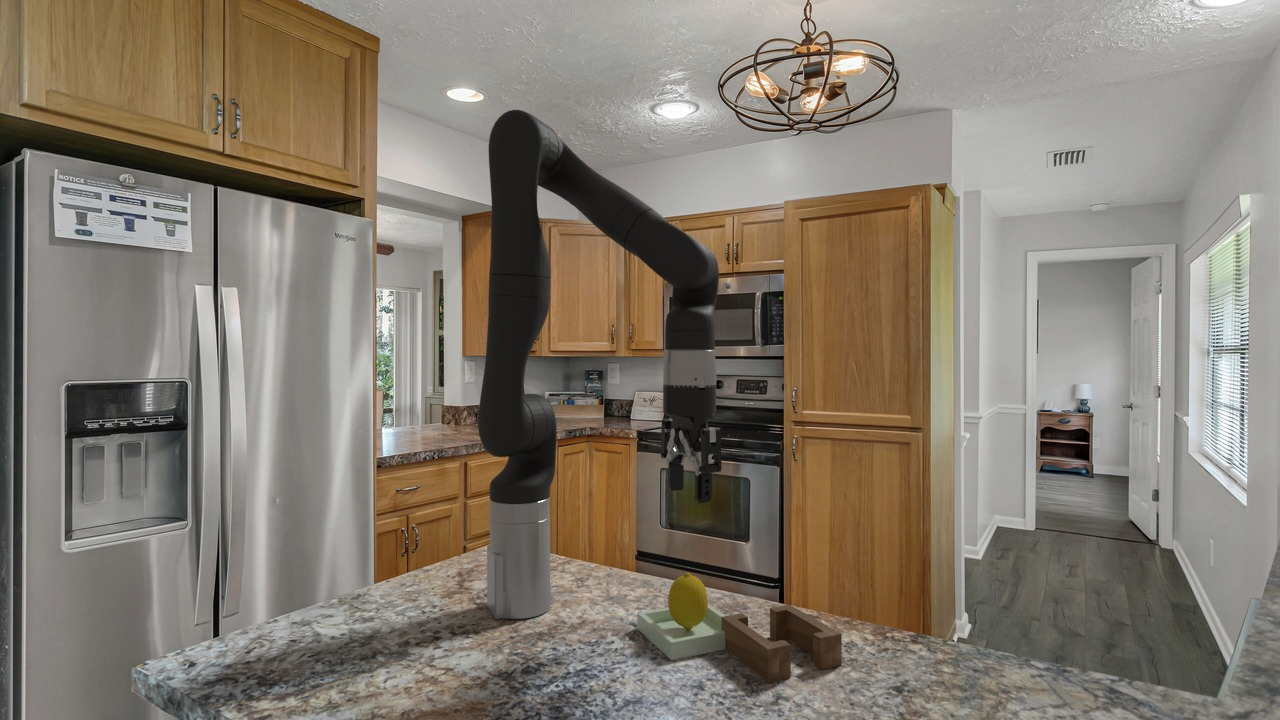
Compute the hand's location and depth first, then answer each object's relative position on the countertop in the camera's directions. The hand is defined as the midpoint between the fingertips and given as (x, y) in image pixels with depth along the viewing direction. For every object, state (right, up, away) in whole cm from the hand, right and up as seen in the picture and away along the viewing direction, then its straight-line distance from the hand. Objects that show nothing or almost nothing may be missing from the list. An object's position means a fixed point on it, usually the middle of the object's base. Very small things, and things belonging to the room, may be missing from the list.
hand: (689, 495), depth 96 cm
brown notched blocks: (+11, -19, -8) cm, 24 cm away
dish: (0, -19, -2) cm, 19 cm away
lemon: (0, -19, -2) cm, 19 cm away
